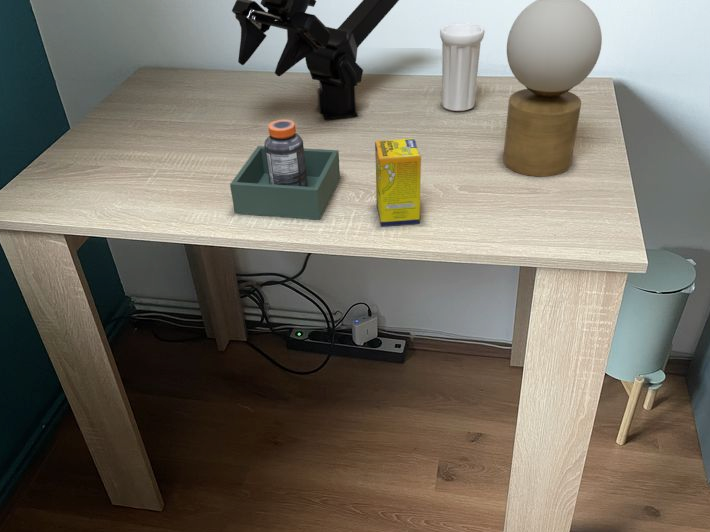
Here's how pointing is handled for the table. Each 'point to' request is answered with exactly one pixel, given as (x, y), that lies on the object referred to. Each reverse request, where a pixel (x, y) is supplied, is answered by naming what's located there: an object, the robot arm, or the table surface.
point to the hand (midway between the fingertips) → (258, 69)
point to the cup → (460, 64)
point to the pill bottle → (285, 155)
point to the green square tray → (286, 187)
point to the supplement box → (398, 181)
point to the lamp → (548, 83)
